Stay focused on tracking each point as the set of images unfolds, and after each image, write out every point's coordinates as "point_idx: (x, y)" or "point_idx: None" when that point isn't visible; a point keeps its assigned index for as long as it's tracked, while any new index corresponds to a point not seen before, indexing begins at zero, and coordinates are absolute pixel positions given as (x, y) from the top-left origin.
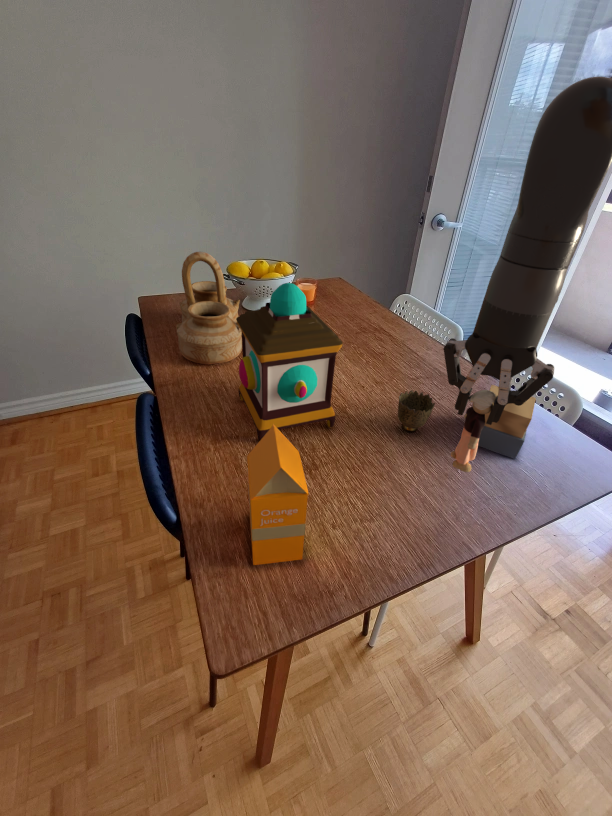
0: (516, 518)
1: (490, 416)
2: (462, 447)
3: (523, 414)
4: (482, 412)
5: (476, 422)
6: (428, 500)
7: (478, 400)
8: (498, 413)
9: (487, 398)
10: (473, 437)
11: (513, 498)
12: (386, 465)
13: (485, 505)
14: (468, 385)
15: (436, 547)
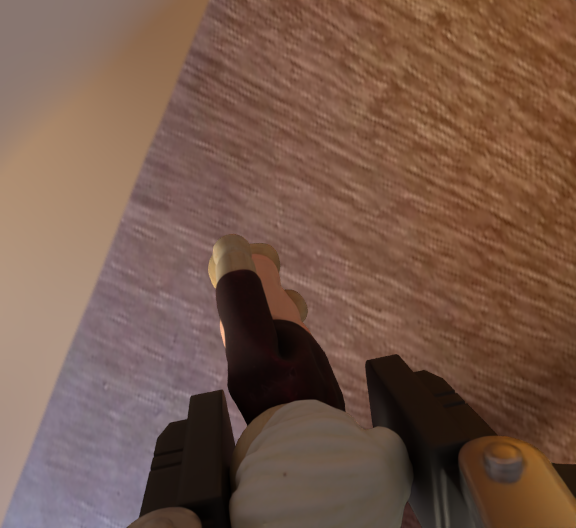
0: (96, 373)
1: (211, 421)
2: (273, 280)
3: None
4: (269, 409)
5: (269, 340)
6: (292, 271)
7: (341, 444)
8: (171, 467)
9: (287, 494)
10: (240, 269)
11: (128, 430)
12: (433, 304)
13: (173, 359)
14: (515, 503)
15: (209, 146)
